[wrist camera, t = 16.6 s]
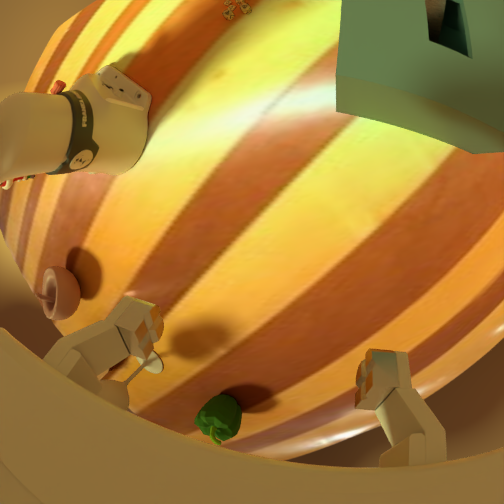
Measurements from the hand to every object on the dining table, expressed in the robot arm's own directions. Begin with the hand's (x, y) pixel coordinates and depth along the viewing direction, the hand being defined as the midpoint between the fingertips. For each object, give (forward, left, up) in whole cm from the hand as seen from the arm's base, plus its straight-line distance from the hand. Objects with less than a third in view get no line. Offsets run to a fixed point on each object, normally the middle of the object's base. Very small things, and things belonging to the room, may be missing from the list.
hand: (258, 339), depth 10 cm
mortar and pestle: (-19, -51, -27) cm, 61 cm away
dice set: (-32, +12, -28) cm, 44 cm away
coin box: (-9, +25, -27) cm, 38 cm away
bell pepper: (+21, -34, -28) cm, 49 cm away
